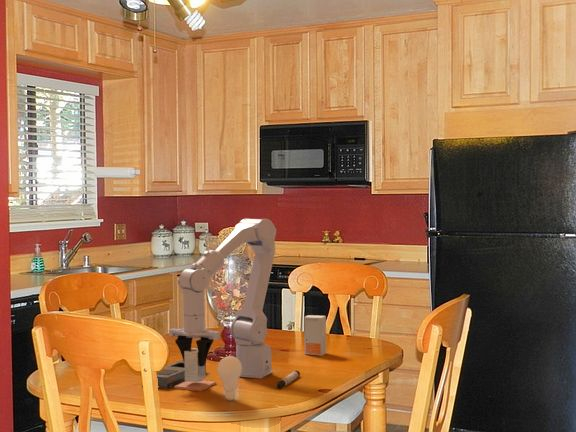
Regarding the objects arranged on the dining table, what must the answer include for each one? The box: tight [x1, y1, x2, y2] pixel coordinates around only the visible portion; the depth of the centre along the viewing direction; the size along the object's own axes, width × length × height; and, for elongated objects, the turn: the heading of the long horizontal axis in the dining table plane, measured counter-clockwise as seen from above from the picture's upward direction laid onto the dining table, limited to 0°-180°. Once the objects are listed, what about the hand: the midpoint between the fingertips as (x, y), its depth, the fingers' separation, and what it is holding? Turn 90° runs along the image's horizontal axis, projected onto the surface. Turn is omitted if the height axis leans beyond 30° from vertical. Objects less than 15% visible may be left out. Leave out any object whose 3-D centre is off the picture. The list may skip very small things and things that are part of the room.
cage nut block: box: [184, 347, 206, 382], centre depth 209 cm, size 4×4×8 cm
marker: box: [275, 370, 301, 389], centre depth 212 cm, size 15×2×2 cm, turn 160°
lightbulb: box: [216, 355, 242, 401], centre depth 195 cm, size 6×6×11 cm
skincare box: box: [303, 314, 327, 357], centre depth 248 cm, size 6×4×12 cm
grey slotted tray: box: [157, 359, 207, 390], centre depth 218 cm, size 8×20×3 cm, turn 156°
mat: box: [173, 380, 217, 392], centre depth 209 cm, size 8×8×1 cm
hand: (194, 365), depth 209 cm, fingers closed on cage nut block, 4 cm apart
